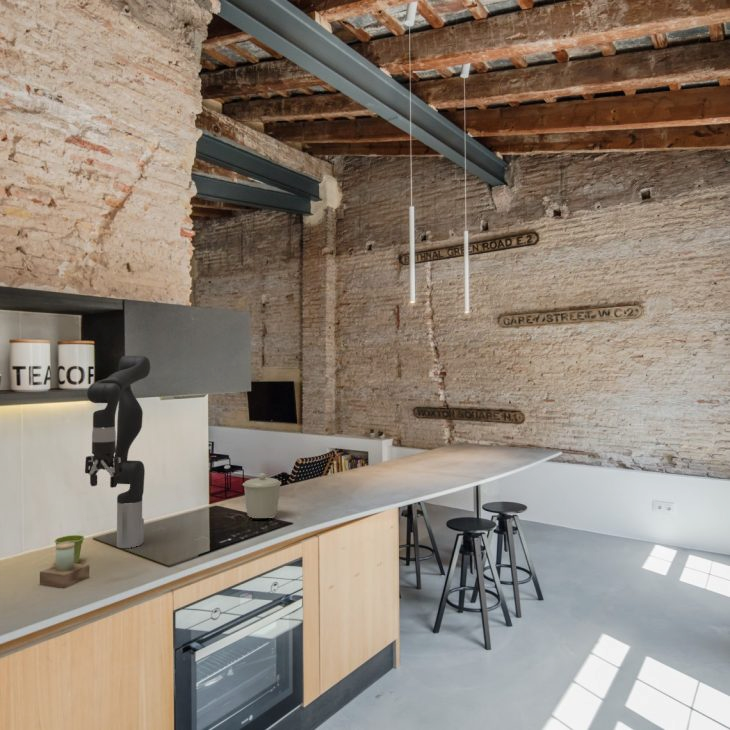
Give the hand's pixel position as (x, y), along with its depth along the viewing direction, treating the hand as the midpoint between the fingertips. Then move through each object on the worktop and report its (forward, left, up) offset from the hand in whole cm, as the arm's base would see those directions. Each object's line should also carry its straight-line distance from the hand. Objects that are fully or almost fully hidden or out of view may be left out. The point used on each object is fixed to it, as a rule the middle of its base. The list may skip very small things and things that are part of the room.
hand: (103, 486), depth 192 cm
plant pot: (0, -15, -28) cm, 32 cm away
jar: (+14, -2, -24) cm, 28 cm away
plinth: (+14, -2, -28) cm, 31 cm away
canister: (-78, +19, -28) cm, 85 cm away
